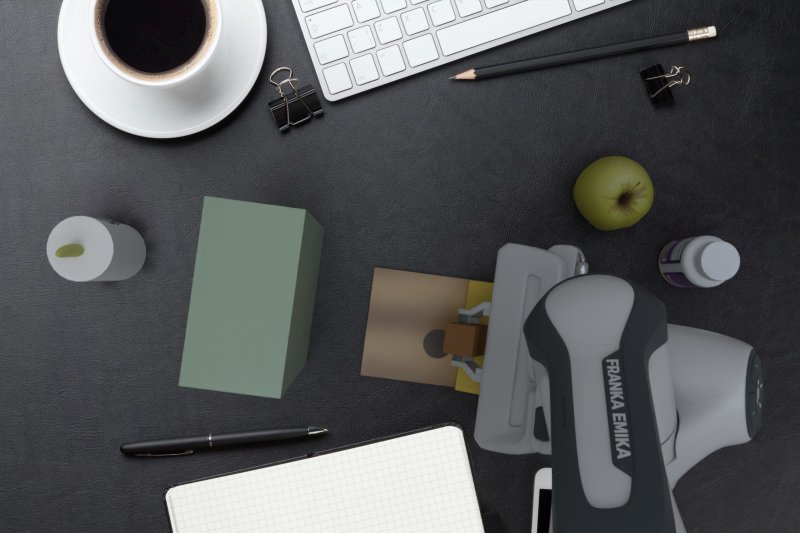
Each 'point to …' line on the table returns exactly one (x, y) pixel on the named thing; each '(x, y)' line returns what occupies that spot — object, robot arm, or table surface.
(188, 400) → the table surface
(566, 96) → the table surface
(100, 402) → the table surface
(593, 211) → the apple
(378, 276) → the mat
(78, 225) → the candle
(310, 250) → the tall sage green box
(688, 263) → the pill bottle
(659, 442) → the robot arm
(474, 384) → the wiper
